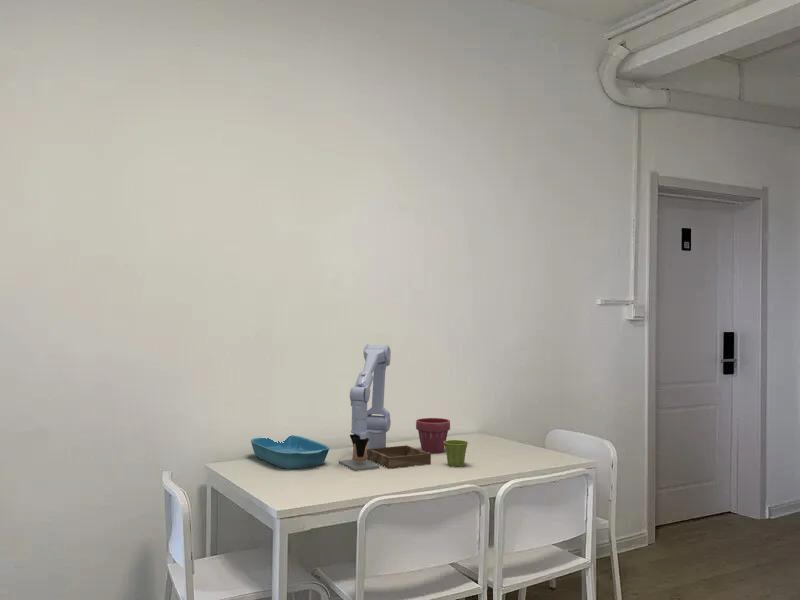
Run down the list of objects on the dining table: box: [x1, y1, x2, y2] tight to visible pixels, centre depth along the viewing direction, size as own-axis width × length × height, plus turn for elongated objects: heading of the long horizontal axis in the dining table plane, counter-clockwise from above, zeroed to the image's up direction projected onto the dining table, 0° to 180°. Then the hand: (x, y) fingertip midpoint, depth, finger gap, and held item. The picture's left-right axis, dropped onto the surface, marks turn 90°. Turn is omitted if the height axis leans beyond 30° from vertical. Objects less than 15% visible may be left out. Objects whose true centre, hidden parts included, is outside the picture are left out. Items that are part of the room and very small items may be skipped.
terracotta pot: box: [351, 443, 367, 461], centre depth 270 cm, size 5×5×6 cm
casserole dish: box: [250, 434, 330, 470], centre depth 278 cm, size 37×22×7 cm, turn 36°
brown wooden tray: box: [366, 445, 432, 469], centre depth 279 cm, size 18×18×4 cm
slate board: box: [338, 459, 380, 472], centre depth 270 cm, size 14×10×1 cm
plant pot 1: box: [415, 417, 451, 454], centre depth 301 cm, size 14×14×13 cm
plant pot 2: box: [444, 439, 469, 467], centre depth 275 cm, size 9×9×9 cm
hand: (358, 455), depth 270 cm, fingers closed on terracotta pot, 5 cm apart
